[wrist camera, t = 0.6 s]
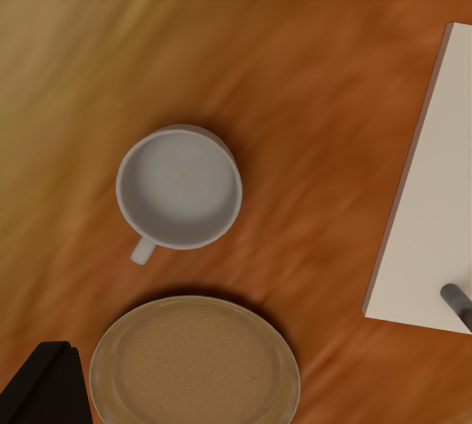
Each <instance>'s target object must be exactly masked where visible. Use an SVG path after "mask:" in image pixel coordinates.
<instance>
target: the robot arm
mask: <svg viewBox="0 0 472 424" xmlns="http://www.w3.org/2000/svg"><path fill="white" fill-rule="evenodd" d="M0 424H93V420H92V415H91V410H90V406H89V401H88V396H87V391H86V386H85V381H84V376H83V372H82V367H81V362H80V357H79V352H78V350H77V348H75V347H71V345H70V344H69V342H67V341H54V342H41V343H40V344H39V345H38V346H37V347H36V348H35V350H34V351H33V352H32V354H31V355H30V356H29V358H28V359H27V360H26V361H25V363H24V364H23V365H22V367H21V368H20V369H19V371H18V372H17V373H16V375H15V376H14V377H13V378H12V380H11V381H10V382H9V384H8V385H7V386H6V388H5V389H4V390H3V391H2V393H1V394H0Z"/></svg>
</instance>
